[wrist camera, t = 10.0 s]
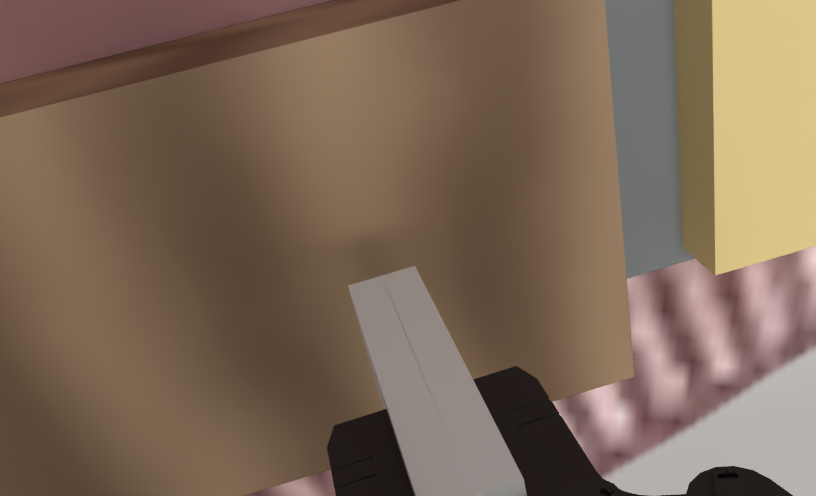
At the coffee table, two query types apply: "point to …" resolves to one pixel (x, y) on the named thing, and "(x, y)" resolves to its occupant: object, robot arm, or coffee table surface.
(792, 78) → the yellow rectangular block
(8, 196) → the deck
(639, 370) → the coffee table surface
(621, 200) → the mat
